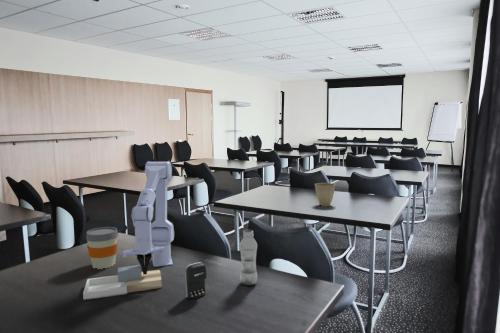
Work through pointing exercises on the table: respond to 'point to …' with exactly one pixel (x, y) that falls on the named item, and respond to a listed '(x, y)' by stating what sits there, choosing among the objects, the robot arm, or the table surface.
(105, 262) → the reusable coffee cup
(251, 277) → the plastic bottle
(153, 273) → the beige piece
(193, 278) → the battery charger
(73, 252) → the table surface
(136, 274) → the blue-grey cube
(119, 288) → the box
